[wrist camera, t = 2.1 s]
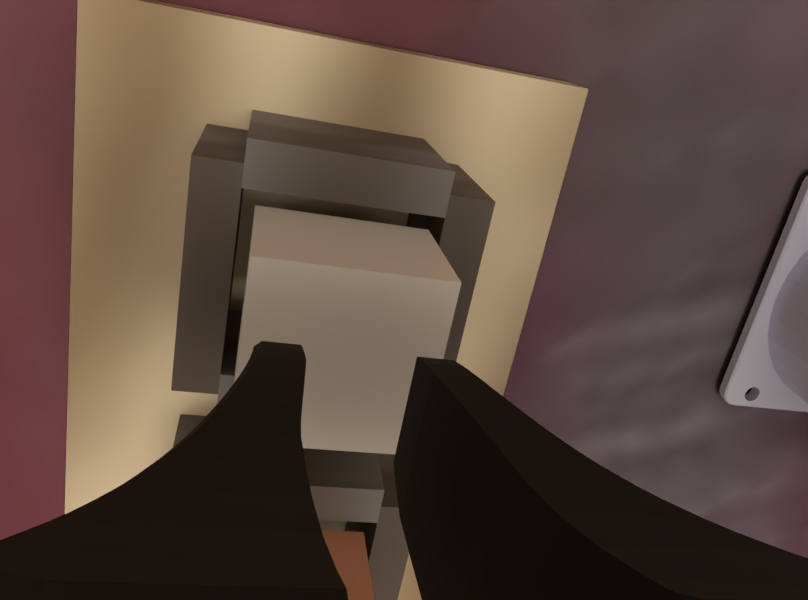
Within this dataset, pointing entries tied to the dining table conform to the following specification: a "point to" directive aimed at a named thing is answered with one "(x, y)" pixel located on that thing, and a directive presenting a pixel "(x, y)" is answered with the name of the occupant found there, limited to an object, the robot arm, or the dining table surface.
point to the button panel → (286, 189)
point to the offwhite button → (348, 317)
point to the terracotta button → (351, 562)
